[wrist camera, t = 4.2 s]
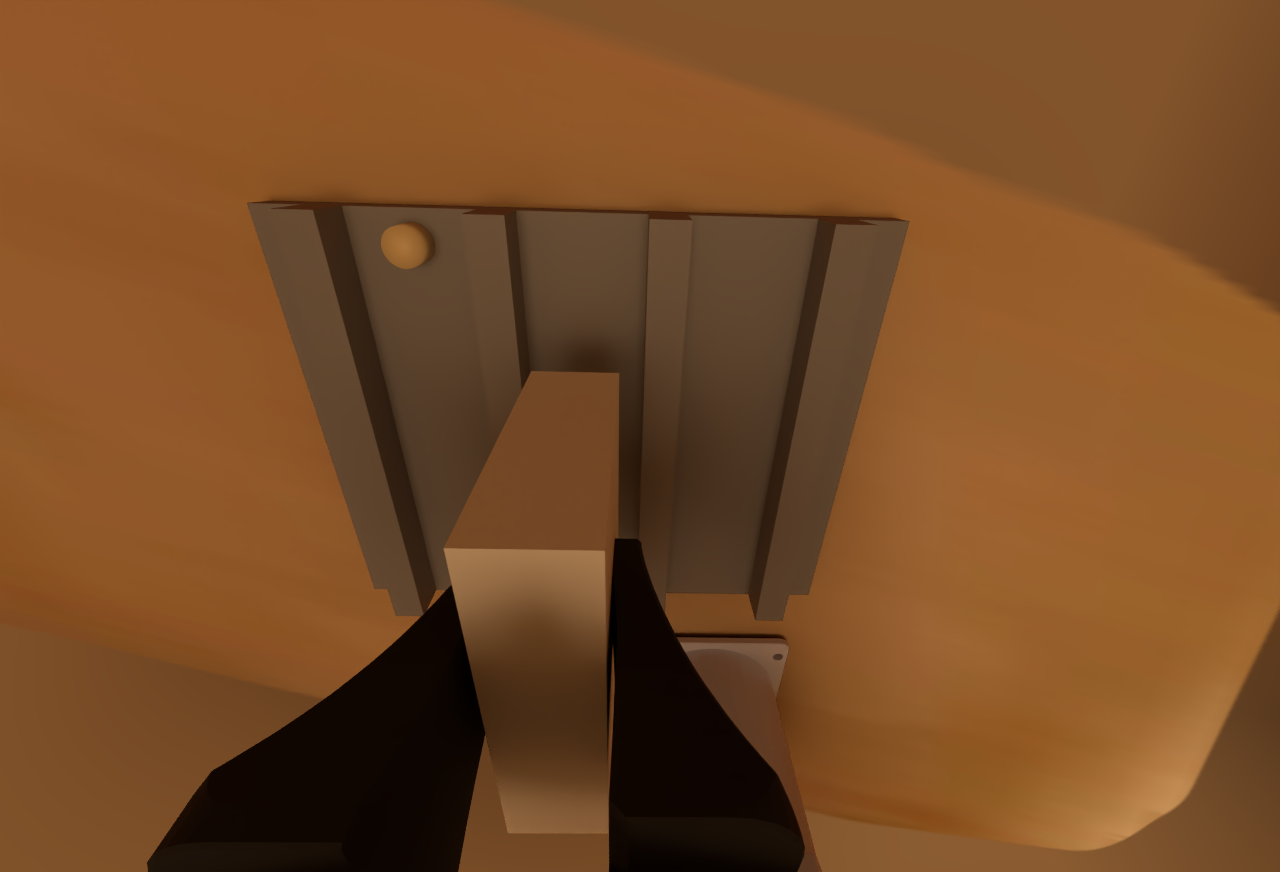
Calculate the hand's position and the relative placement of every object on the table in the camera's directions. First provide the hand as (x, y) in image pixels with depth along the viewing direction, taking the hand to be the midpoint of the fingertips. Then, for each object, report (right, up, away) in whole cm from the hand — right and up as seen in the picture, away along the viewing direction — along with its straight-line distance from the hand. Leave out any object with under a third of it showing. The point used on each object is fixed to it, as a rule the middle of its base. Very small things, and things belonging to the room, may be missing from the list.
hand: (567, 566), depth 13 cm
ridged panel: (0, +4, +7) cm, 8 cm away
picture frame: (0, +1, +3) cm, 3 cm away
